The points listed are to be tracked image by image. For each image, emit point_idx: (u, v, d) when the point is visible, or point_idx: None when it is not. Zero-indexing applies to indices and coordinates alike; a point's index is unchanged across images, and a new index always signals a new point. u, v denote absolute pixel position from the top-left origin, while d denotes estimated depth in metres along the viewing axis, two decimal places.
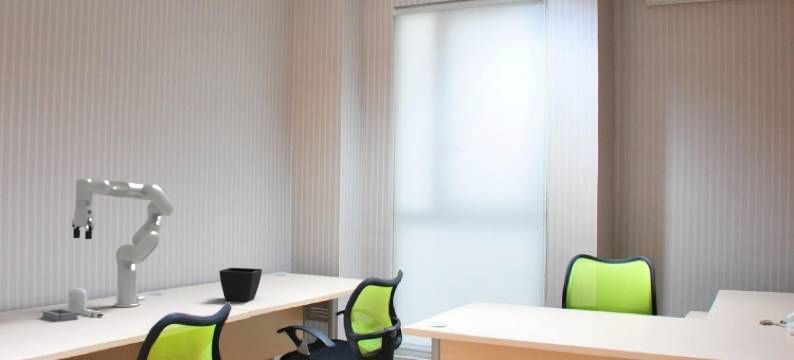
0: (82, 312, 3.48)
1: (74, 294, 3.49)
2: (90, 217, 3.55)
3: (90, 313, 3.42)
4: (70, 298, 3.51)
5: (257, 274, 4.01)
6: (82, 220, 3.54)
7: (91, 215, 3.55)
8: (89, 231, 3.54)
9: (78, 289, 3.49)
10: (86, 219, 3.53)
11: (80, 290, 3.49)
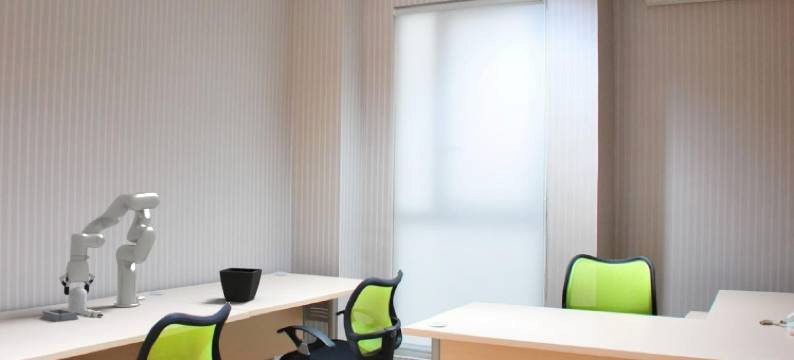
0: (82, 312, 3.48)
1: (74, 294, 3.49)
2: None
3: (90, 313, 3.42)
4: (70, 298, 3.51)
5: (257, 274, 4.01)
6: (85, 275, 3.52)
7: None
8: None
9: (78, 289, 3.49)
10: None
11: (80, 290, 3.49)
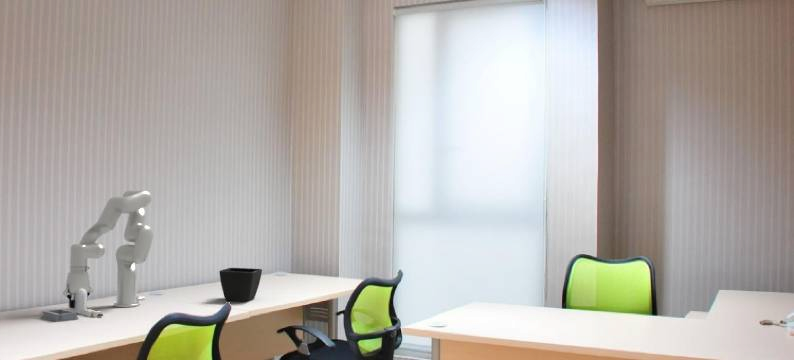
0: (82, 312, 3.48)
1: None
2: None
3: (90, 313, 3.42)
4: None
5: (257, 274, 4.01)
6: (86, 286, 3.52)
7: None
8: None
9: (78, 289, 3.49)
10: None
11: (80, 290, 3.49)
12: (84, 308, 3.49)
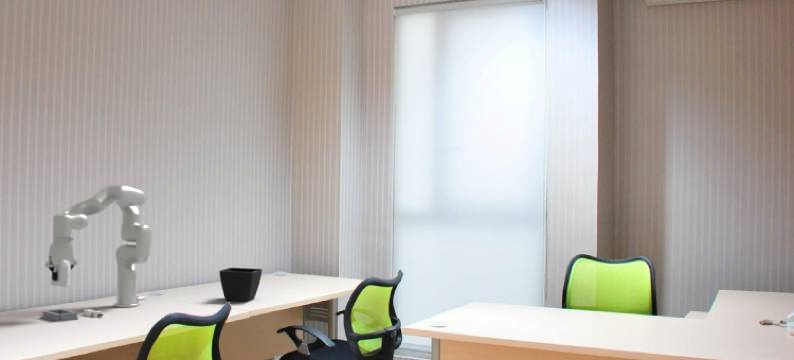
0: (65, 285, 3.33)
1: None
2: None
3: (90, 313, 3.42)
4: None
5: (257, 274, 4.01)
6: (69, 258, 3.37)
7: None
8: None
9: (61, 261, 3.34)
10: None
11: (63, 262, 3.33)
12: (67, 281, 3.33)
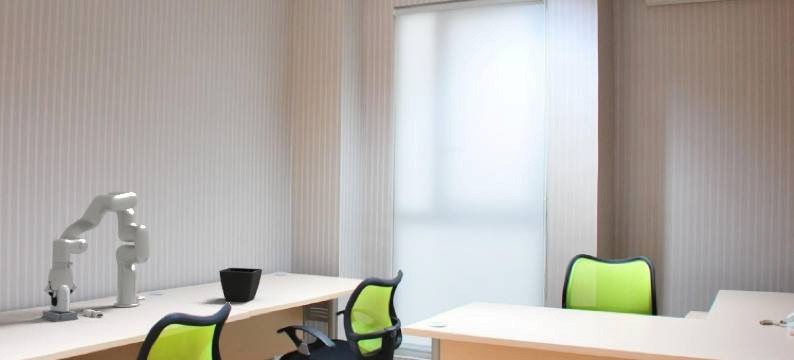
0: (64, 310, 3.32)
1: None
2: None
3: (90, 313, 3.42)
4: None
5: (257, 274, 4.01)
6: (69, 282, 3.37)
7: None
8: None
9: (60, 286, 3.34)
10: (72, 281, 3.39)
11: (62, 287, 3.33)
12: (67, 306, 3.33)
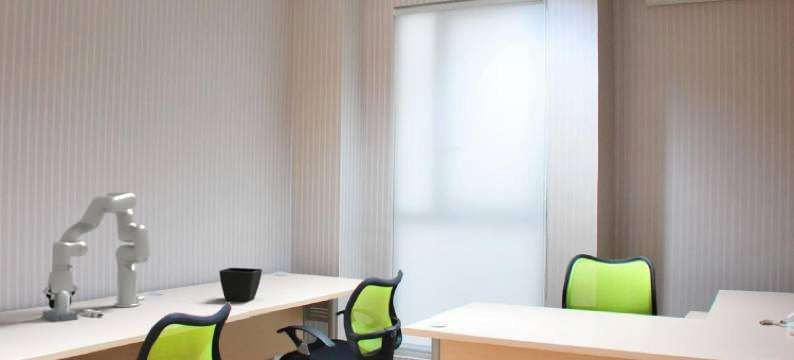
0: None
1: (56, 297, 3.34)
2: None
3: (90, 313, 3.42)
4: None
5: (257, 274, 4.01)
6: (69, 285, 3.37)
7: None
8: None
9: (60, 292, 3.34)
10: None
11: (62, 293, 3.33)
12: (66, 312, 3.33)
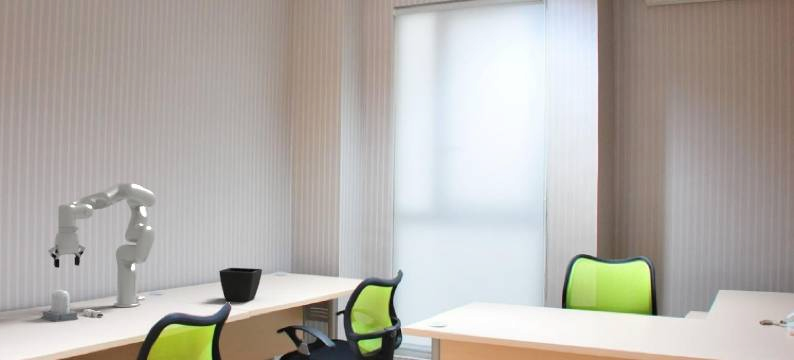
0: None
1: (56, 297, 3.34)
2: None
3: (90, 313, 3.42)
4: (53, 301, 3.36)
5: (257, 274, 4.01)
6: (75, 247, 3.45)
7: None
8: None
9: (60, 292, 3.34)
10: None
11: (62, 293, 3.33)
12: (66, 312, 3.33)
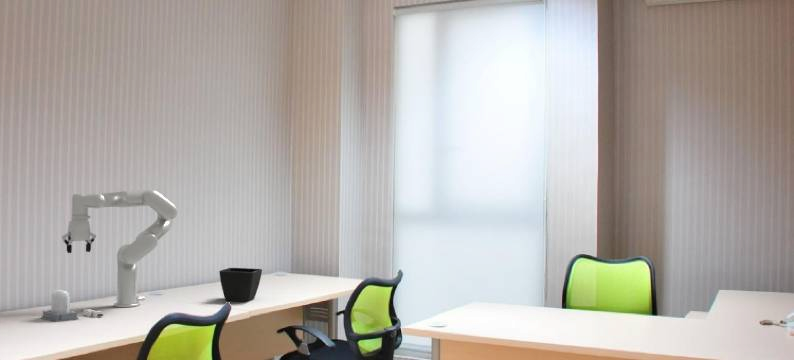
0: None
1: (56, 297, 3.34)
2: None
3: (90, 313, 3.42)
4: (53, 301, 3.36)
5: (257, 274, 4.01)
6: (87, 234, 3.65)
7: None
8: None
9: (60, 292, 3.34)
10: None
11: (62, 293, 3.33)
12: (66, 312, 3.33)
